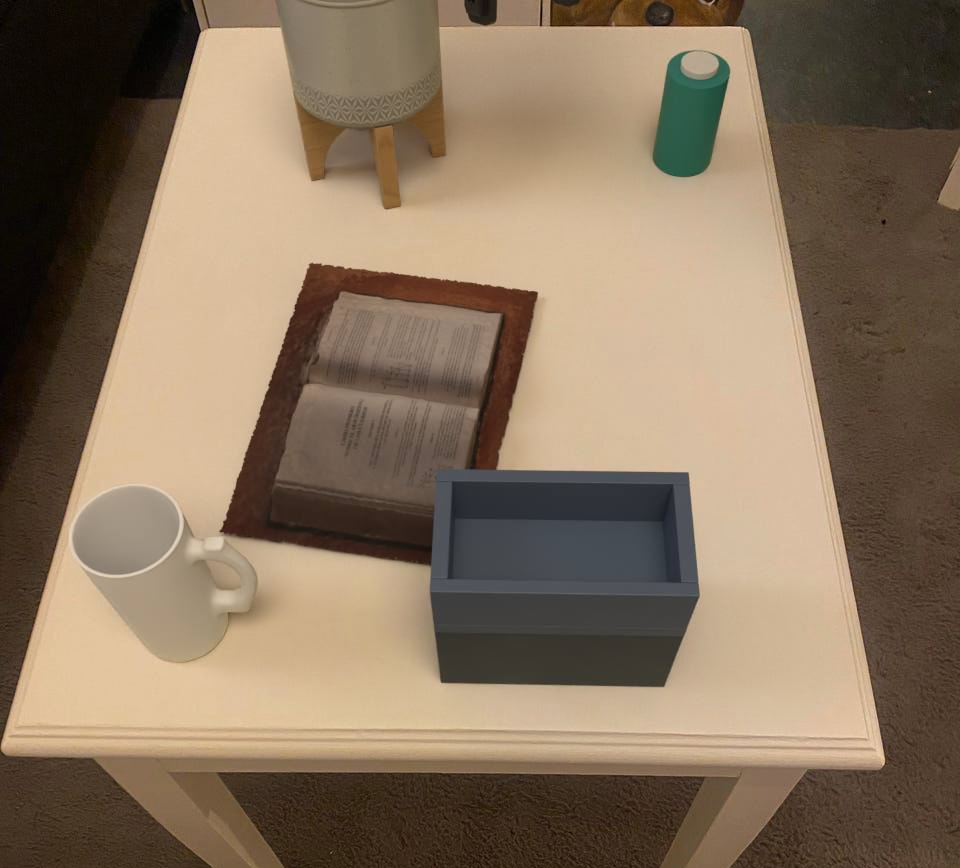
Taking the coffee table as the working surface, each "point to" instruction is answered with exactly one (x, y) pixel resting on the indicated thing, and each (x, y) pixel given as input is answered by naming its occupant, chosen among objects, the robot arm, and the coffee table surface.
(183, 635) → the mug
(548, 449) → the coffee table surface
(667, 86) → the plastic bottle
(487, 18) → the robot arm
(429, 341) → the book
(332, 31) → the planter
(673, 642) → the open storage box
